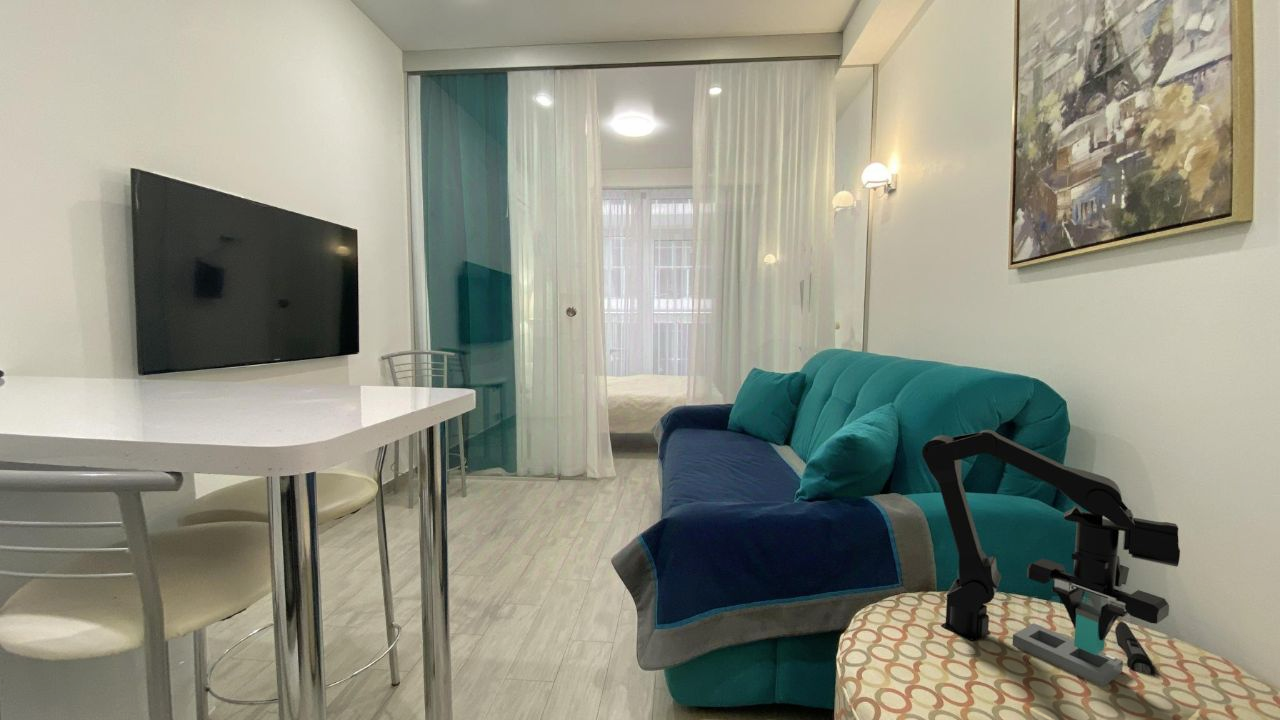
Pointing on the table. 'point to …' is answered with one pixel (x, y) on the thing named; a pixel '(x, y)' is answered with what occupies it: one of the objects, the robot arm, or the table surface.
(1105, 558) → the robot arm
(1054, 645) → the grey flat block
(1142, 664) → the electric trimmer
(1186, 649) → the table surface
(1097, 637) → the plug
